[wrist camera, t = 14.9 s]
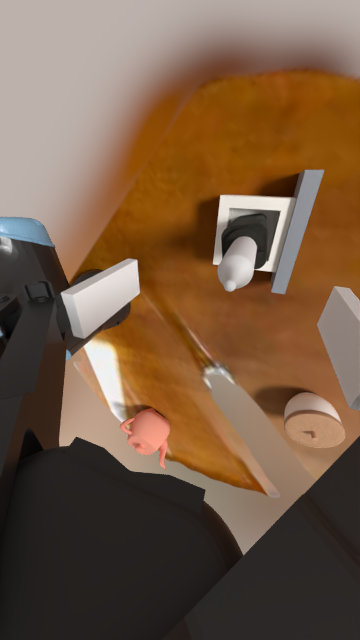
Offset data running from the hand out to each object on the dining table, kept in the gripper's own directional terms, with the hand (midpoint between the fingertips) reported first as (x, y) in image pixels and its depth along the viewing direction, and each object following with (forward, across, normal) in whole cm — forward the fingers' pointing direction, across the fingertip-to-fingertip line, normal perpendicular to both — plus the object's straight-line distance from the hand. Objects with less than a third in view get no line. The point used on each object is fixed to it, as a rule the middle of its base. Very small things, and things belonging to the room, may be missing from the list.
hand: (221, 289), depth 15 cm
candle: (+25, +1, 0) cm, 25 cm away
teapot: (+27, -19, -65) cm, 73 cm away
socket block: (+26, +1, 0) cm, 26 cm away
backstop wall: (+26, +7, 0) cm, 27 cm away
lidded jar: (+26, +21, -36) cm, 49 cm away
